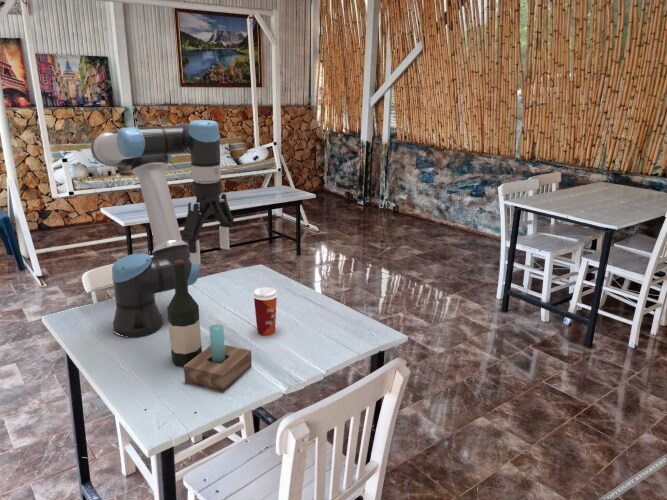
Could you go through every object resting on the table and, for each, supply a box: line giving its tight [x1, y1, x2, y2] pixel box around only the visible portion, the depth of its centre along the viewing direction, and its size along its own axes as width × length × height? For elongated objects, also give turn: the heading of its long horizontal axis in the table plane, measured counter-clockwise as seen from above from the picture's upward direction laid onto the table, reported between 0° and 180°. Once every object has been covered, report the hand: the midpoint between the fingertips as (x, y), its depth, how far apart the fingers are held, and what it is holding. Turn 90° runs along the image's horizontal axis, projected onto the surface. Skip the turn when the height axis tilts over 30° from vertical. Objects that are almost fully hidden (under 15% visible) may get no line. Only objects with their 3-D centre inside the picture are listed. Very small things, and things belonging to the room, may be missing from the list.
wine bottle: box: [166, 260, 203, 368], centre depth 146 cm, size 8×8×30 cm
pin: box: [209, 324, 226, 364], centre depth 141 cm, size 4×4×13 cm
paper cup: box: [252, 286, 279, 337], centre depth 165 cm, size 8×8×14 cm
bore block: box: [183, 344, 253, 394], centre depth 142 cm, size 12×14×5 cm
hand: (210, 255), depth 146 cm, fingers open, 13 cm apart
